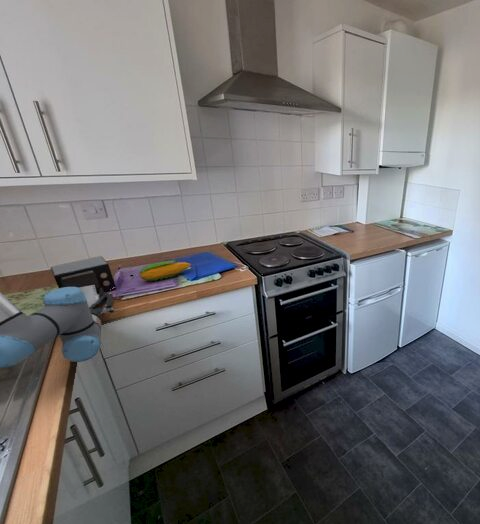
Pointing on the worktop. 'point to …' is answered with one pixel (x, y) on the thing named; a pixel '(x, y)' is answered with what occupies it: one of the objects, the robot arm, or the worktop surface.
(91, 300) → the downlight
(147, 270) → the corn
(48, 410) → the worktop surface
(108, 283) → the toaster oven
